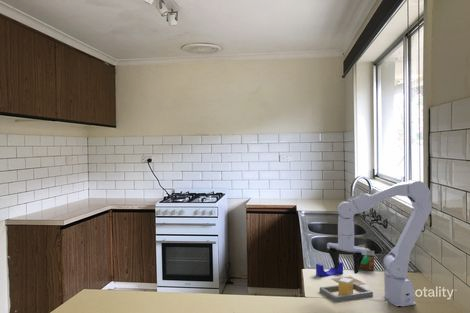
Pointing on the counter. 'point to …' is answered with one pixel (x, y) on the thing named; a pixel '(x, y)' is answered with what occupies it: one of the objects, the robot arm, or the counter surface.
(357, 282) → the brown square tile
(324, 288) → the parts tray
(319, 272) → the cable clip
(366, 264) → the food container
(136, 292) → the counter surface
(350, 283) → the yellow and white block
